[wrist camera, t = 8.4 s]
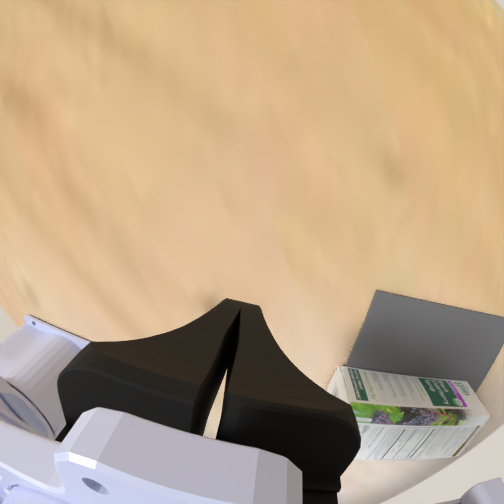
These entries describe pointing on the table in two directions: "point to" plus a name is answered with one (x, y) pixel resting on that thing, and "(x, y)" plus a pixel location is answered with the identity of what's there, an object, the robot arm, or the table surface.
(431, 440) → the syrup box
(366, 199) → the table surface
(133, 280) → the table surface
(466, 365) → the rubber mat
